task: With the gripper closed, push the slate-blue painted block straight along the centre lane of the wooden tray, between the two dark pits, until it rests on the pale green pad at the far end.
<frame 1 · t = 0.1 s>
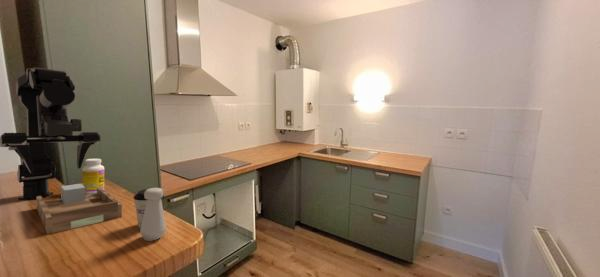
hand: (56, 170, 66), 15 cm above the counter, tool pointing down, fingers open, 9 cm apart
supplement bottle: (93, 192, 96), on the counter
block: (73, 200, 81), point 2 cm above the counter, touching wooden tray
wooden tray: (78, 212, 76), on the counter
coffee cup: (147, 225, 71), on the counter
salt shaker: (153, 238, 64), on the counter
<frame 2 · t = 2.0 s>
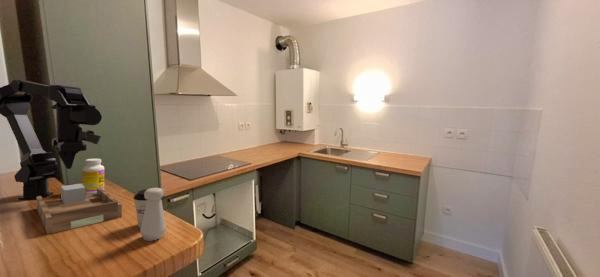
hand: (68, 168, 84), 11 cm above the counter, tool pointing down, fingers closed
nothing on the counter moved.
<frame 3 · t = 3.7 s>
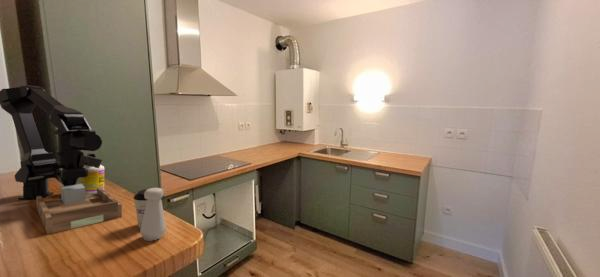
hand: (70, 193, 84), 3 cm above the counter, tool pointing down, fingers closed
block: (73, 200, 81), point 2 cm above the counter, touching gripper
everything else where it was.
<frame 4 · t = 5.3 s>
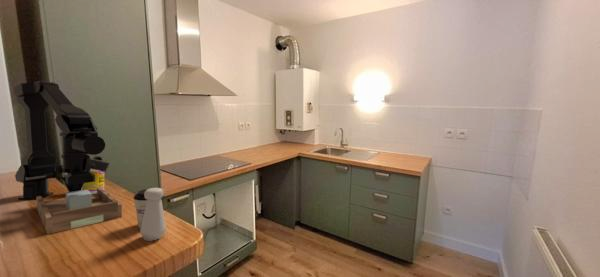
hand: (75, 199, 79), 3 cm above the counter, tool pointing down, fingers closed
block: (78, 207, 76), point 2 cm above the counter, touching gripper, wooden tray
everything else where it was.
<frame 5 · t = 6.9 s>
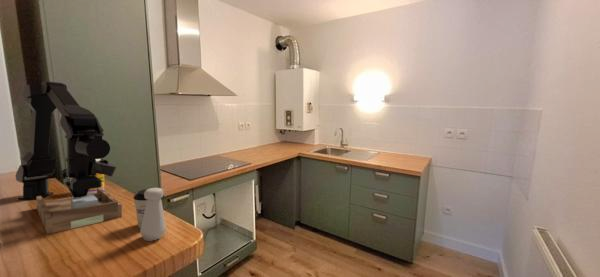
hand: (80, 205, 74), 3 cm above the counter, tool pointing down, fingers closed
block: (84, 213, 71), point 2 cm above the counter, touching gripper, wooden tray
everything else where it was.
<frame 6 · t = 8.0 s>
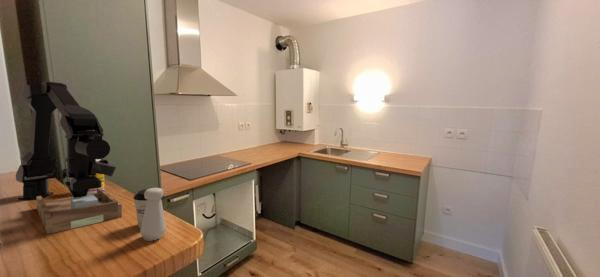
hand: (80, 205, 74), 3 cm above the counter, tool pointing down, fingers closed
nothing on the counter moved.
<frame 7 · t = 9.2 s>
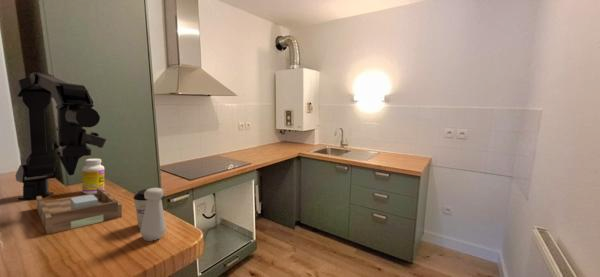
hand: (71, 174, 76), 12 cm above the counter, tool pointing down, fingers closed
block: (84, 213, 71), point 2 cm above the counter, touching wooden tray
everything else where it was.
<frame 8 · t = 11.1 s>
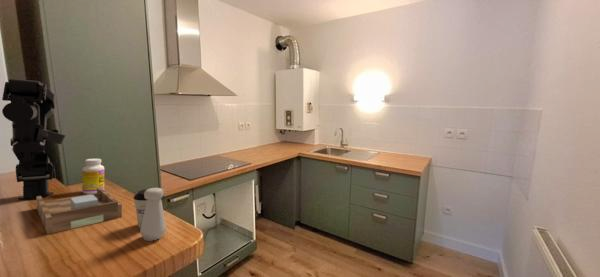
hand: (27, 171, 76), 12 cm above the counter, tool pointing down, fingers closed
nothing on the counter moved.
at the end: block inside the target area (0.2 cm from its centre), point 2.0 cm above the counter; block tilted 0° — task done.
